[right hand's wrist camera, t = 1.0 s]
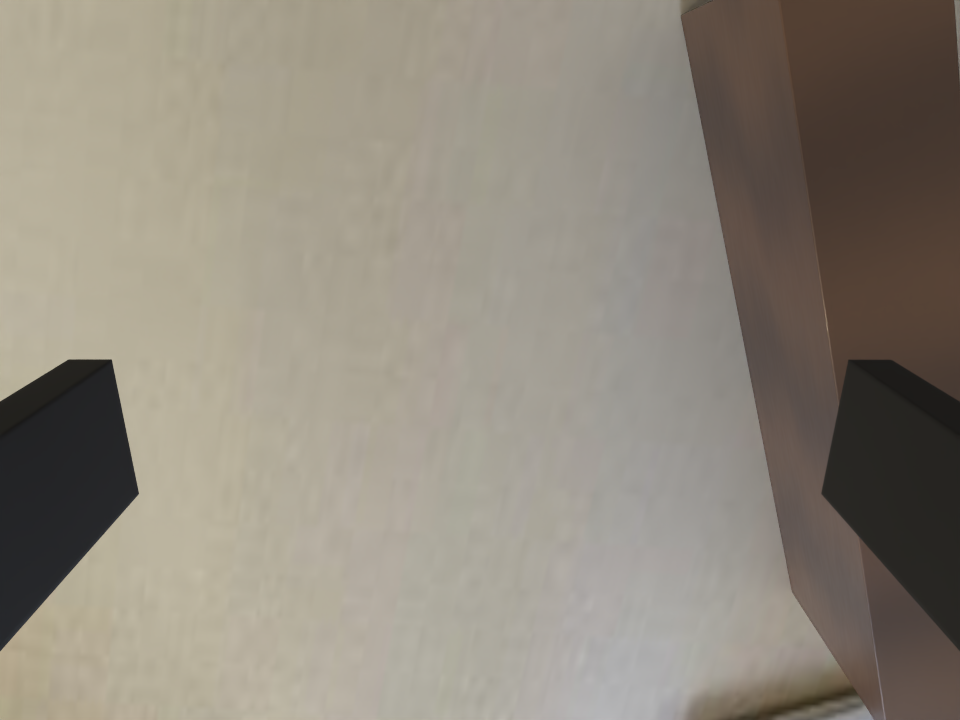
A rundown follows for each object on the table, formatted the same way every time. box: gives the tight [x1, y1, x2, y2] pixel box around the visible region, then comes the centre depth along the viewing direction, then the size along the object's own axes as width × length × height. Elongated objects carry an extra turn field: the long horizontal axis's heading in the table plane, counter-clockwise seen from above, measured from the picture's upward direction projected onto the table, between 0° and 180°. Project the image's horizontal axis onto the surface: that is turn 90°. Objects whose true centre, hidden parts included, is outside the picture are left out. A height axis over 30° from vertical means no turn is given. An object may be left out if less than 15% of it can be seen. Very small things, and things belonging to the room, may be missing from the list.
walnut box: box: [681, 0, 960, 720], centre depth 30 cm, size 32×5×10 cm, turn 18°
